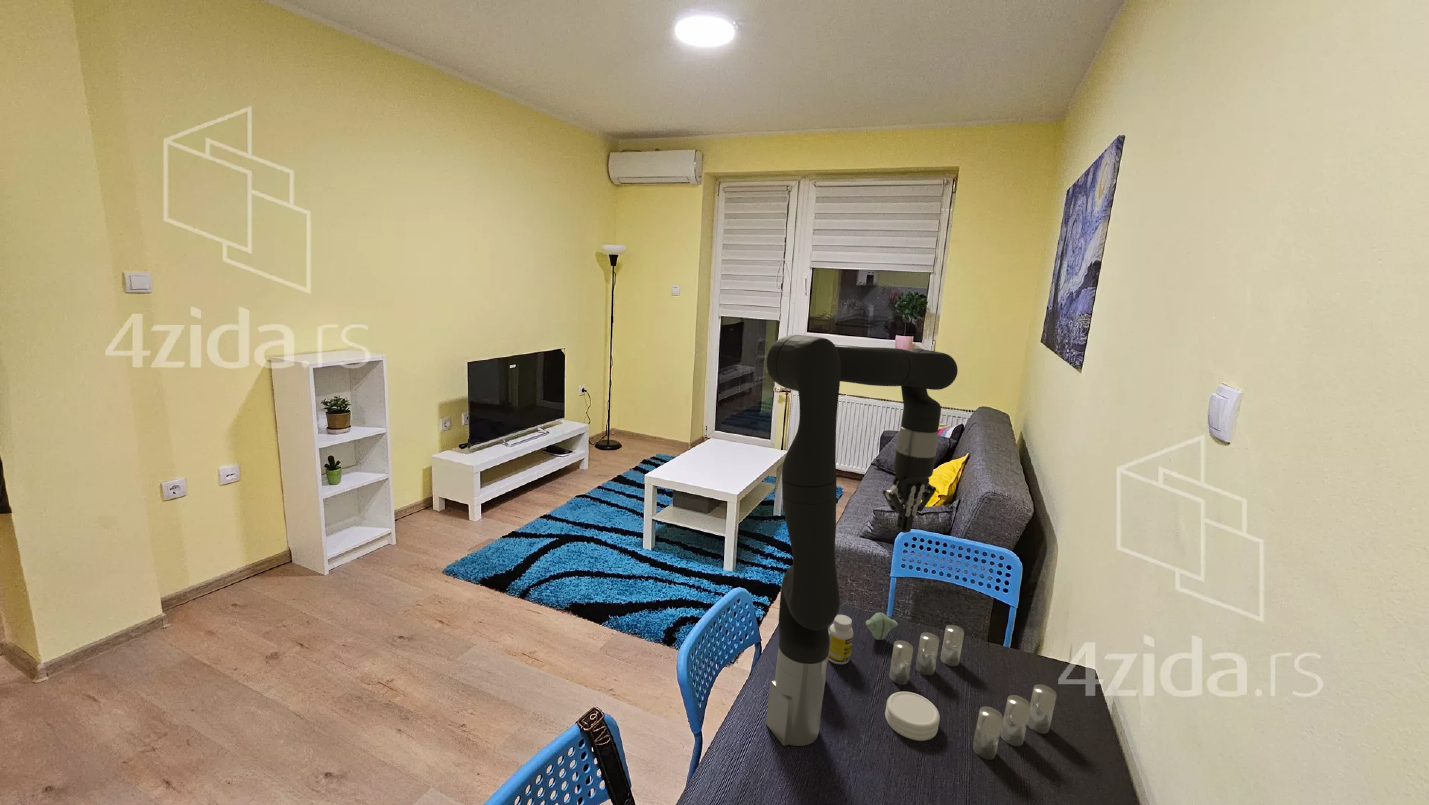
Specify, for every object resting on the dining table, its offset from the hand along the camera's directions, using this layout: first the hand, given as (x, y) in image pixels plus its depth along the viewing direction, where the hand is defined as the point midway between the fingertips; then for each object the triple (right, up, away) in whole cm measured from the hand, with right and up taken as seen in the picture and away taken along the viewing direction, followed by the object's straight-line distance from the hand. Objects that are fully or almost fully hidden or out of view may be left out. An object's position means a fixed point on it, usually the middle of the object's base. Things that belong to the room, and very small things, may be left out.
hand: (903, 531), depth 122 cm
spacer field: (+14, -36, +3) cm, 39 cm away
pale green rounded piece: (+1, -31, +23) cm, 39 cm away
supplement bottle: (-11, -32, +14) cm, 37 cm away
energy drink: (-18, -34, +6) cm, 38 cm away
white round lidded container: (0, -37, -4) cm, 38 cm away
